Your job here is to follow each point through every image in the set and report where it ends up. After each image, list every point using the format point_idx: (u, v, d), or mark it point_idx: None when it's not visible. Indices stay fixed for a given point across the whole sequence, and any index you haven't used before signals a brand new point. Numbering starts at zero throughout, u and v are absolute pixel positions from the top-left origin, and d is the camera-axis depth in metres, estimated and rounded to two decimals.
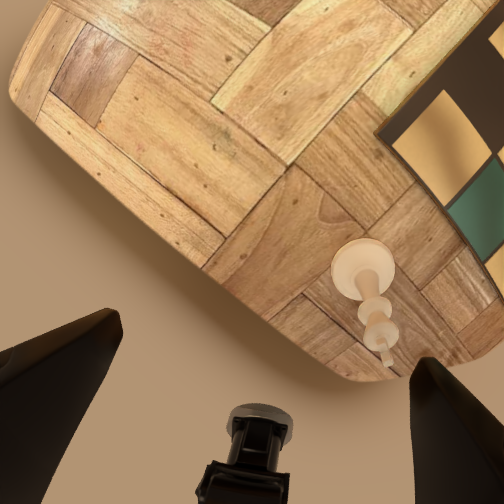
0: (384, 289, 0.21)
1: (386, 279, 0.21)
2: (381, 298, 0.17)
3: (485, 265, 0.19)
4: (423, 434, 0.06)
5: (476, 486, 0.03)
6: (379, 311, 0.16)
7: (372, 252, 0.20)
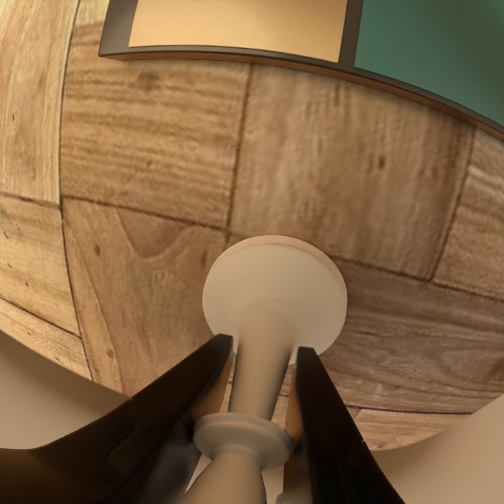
0: (337, 324, 0.09)
1: (324, 306, 0.09)
2: (221, 419, 0.05)
3: None
4: (288, 429, 0.06)
5: (304, 501, 0.04)
6: (222, 458, 0.05)
7: (250, 269, 0.09)
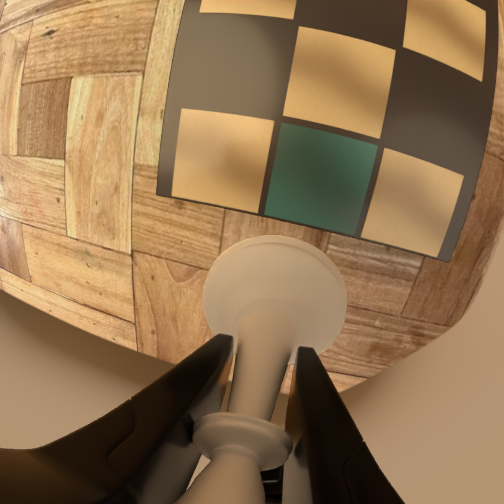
0: (337, 324, 0.09)
1: (324, 306, 0.09)
2: (220, 419, 0.05)
3: (363, 236, 0.18)
4: (288, 430, 0.06)
5: (303, 501, 0.04)
6: (221, 458, 0.05)
7: (250, 269, 0.09)
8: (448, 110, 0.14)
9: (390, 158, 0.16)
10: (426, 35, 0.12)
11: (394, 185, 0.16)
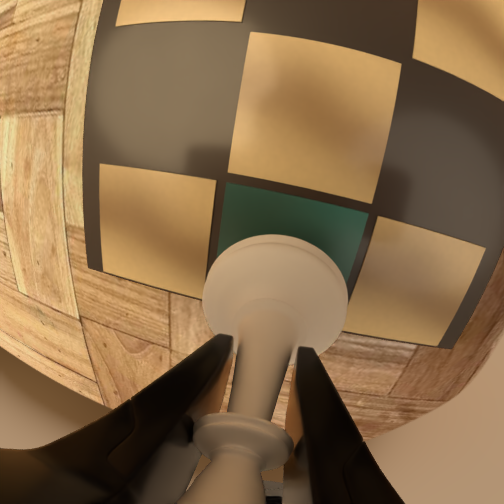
0: (337, 324, 0.09)
1: (324, 306, 0.09)
2: (221, 419, 0.05)
3: None
4: (288, 429, 0.06)
5: (303, 501, 0.04)
6: (221, 458, 0.05)
7: (250, 269, 0.09)
8: (475, 156, 0.09)
9: (386, 230, 0.11)
10: (447, 41, 0.08)
11: (388, 267, 0.12)
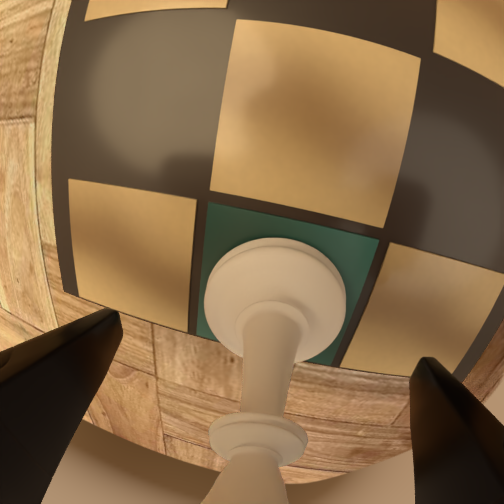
0: (337, 323, 0.10)
1: (325, 306, 0.09)
2: (239, 418, 0.05)
3: (343, 365, 0.12)
4: (423, 434, 0.06)
5: (476, 486, 0.03)
6: (241, 457, 0.05)
7: (253, 272, 0.09)
8: (502, 171, 0.07)
9: (399, 259, 0.09)
10: (472, 34, 0.06)
11: (399, 300, 0.10)
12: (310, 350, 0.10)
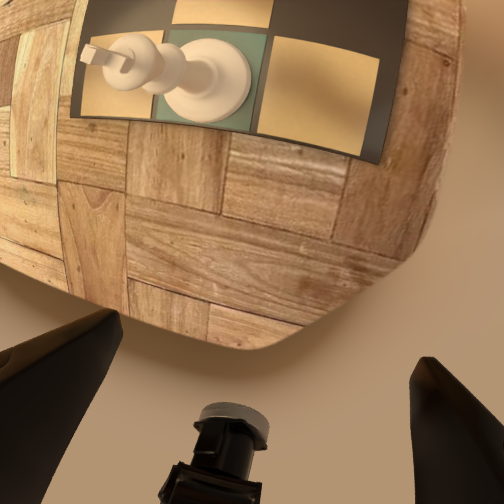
0: (241, 79, 0.14)
1: (231, 65, 0.13)
2: None
3: (260, 132, 0.16)
4: (423, 434, 0.06)
5: (476, 486, 0.03)
6: None
7: (189, 50, 0.13)
8: None
9: (283, 46, 0.13)
10: None
11: (290, 72, 0.14)
12: (225, 99, 0.14)
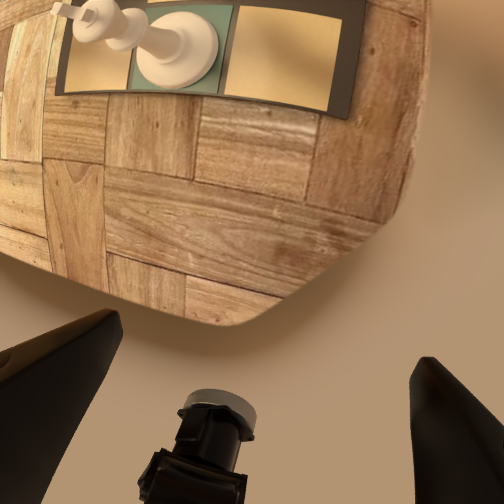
0: (207, 44, 0.13)
1: (198, 32, 0.13)
2: None
3: (227, 93, 0.15)
4: (423, 434, 0.06)
5: (476, 486, 0.03)
6: None
7: (161, 23, 0.13)
8: None
9: (248, 14, 0.13)
10: None
11: (254, 36, 0.14)
12: (192, 63, 0.14)
